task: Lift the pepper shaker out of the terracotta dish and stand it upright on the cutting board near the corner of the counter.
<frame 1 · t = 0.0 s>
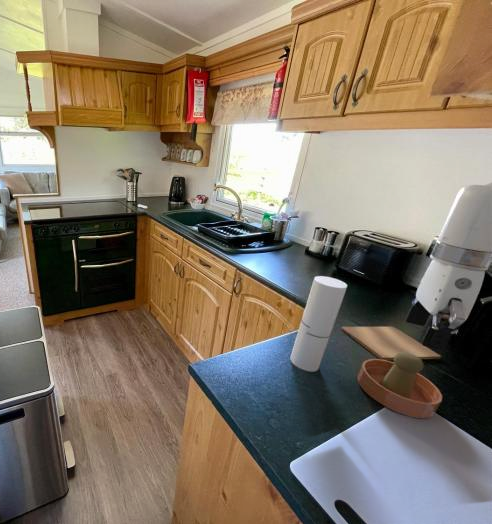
hand: (422, 334, 58), 21 cm above the countertop, tool pointing down, fingers open, 9 cm apart
terracotta dish: (393, 393, 72), on the countertop
pepper shaker: (393, 392, 72), resting on terracotta dish
cutting board: (387, 343, 93), on the countertop
cylindrical container: (303, 363, 81), on the countertop
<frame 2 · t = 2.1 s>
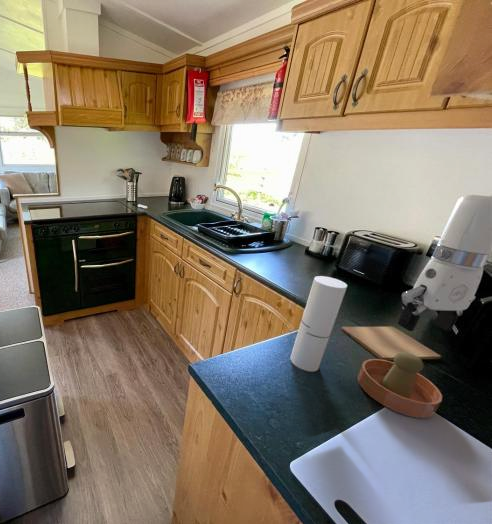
hand: (423, 327, 65), 19 cm above the countertop, tool pointing down, fingers open, 9 cm apart
nothing on the countertop moved.
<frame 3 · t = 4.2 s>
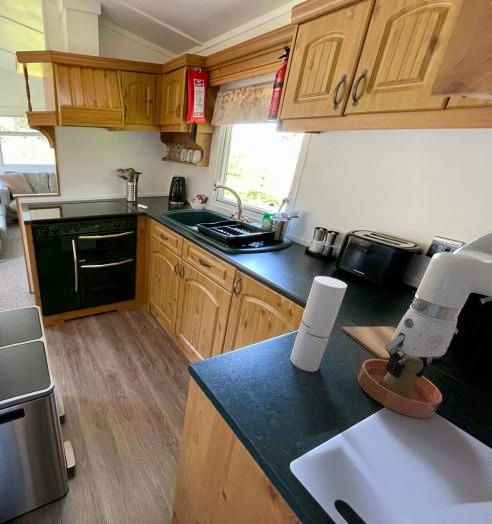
hand: (403, 372, 70), 6 cm above the countertop, tool pointing down, fingers closed on pepper shaker, 5 cm apart
pepper shaker: (393, 392, 72), resting on terracotta dish, touching gripper
everything else where it was.
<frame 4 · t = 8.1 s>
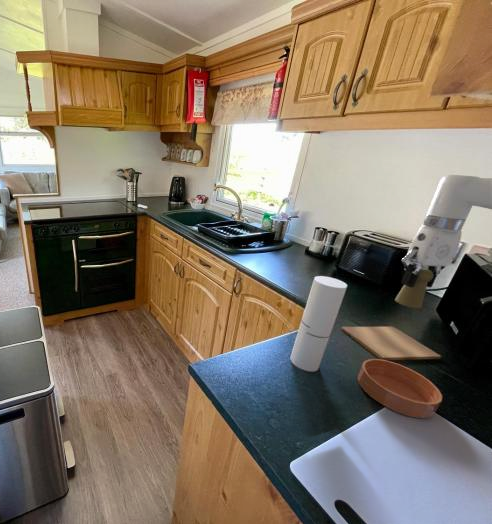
hand: (416, 284, 83), 22 cm above the countertop, tool pointing down, fingers closed on pepper shaker, 5 cm apart
pepper shaker: (407, 303, 85), point 16 cm above the countertop, touching gripper
everything else where it was.
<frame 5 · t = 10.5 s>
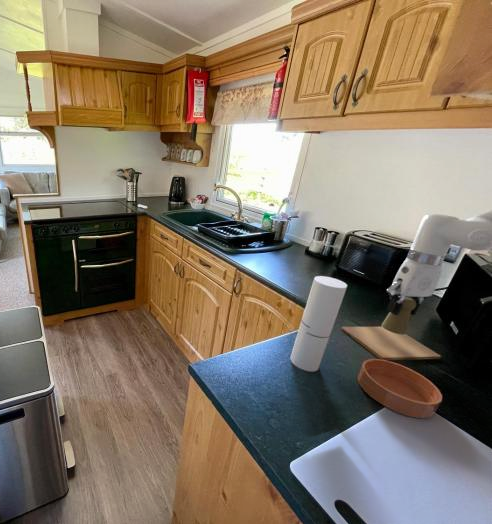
hand: (400, 312, 89), 11 cm above the countertop, tool pointing down, fingers closed on pepper shaker, 5 cm apart
pepper shaker: (393, 329, 91), point 5 cm above the countertop, touching gripper
everything else where it was.
when the fingers open (7 cm above the countertop, at t = 12.1 s): pepper shaker stays where it is, resting on cutting board.
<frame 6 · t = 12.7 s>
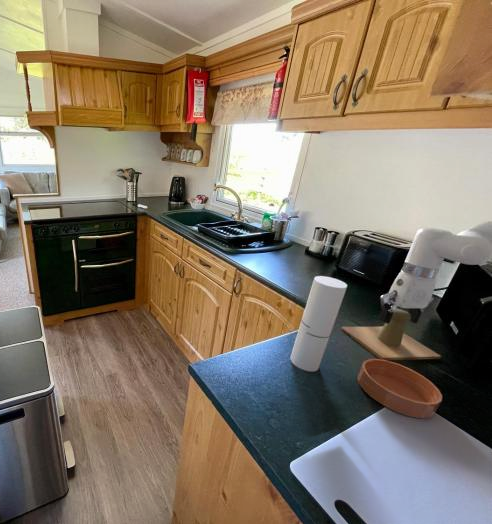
hand: (397, 321, 90), 8 cm above the countertop, tool pointing down, fingers open, 9 cm apart
pepper shaker: (388, 341, 93), point 1 cm above the countertop, touching cutting board
everything else where it was.
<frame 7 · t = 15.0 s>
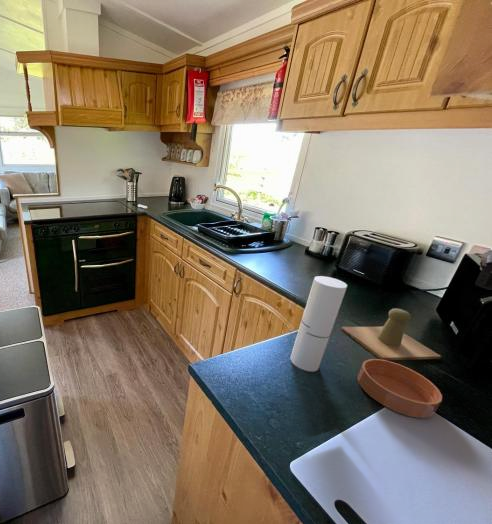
nothing on the countertop moved.
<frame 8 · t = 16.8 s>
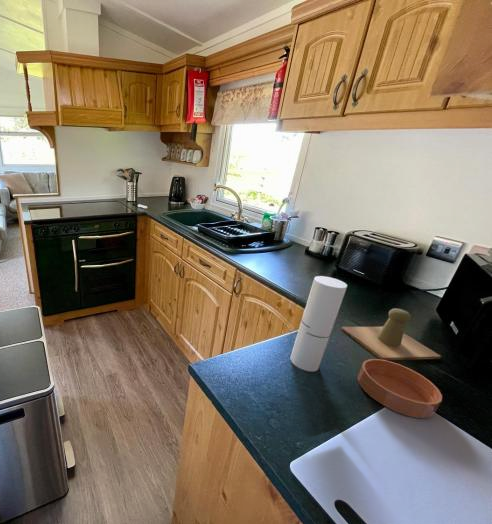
nothing on the countertop moved.
at the end: pepper shaker inside the target area on the cutting board (0.0 cm from its centre), point 0.8 cm above the cutting board's base; pepper shaker tilted 0°; pepper shaker touching cutting board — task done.
